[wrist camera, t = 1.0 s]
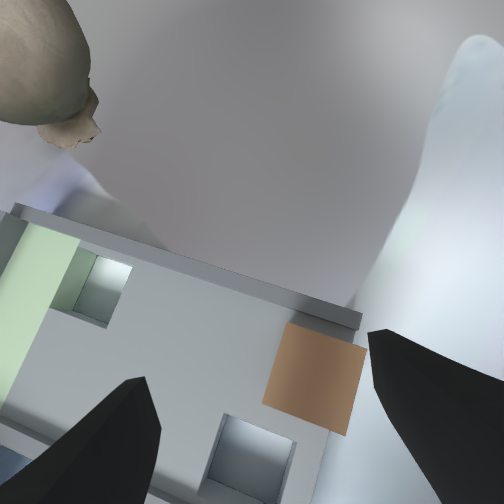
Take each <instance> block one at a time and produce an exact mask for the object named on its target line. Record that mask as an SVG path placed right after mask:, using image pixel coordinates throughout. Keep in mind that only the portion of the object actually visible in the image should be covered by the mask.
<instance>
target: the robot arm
mask: <svg viewBox="0 0 504 504" xmlns="http://www.w3.org/2000/svg"><path fill="white" fill-rule="evenodd" d="M367 334H368V342H369V350H370V358H371V367H372V375H373V383H374V389H375V391H376V393H377V395H378V397H379V399H380V402H381V404H382V406H383V408H384V410H385V412H386V414H387V416H388V418H389V420H390V421H391V423H392V424H393V426H394V428H395V429H396V431H397V432H398V434H399V436H400V437H401V439H402V440H403V442H404V444H405V445H406V447H407V448H408V450H409V451H410V453H411V455H412V456H413V458H414V459H415V461H416V462H417V464H418V466H419V467H420V469H421V470H422V472H423V473H424V475H425V477H426V478H427V480H428V481H429V483H430V484H431V486H432V488H433V489H434V491H435V492H436V494H437V496H438V497H439V499H440V501H441V503H442V504H504V381H502V380H499V379H496V378H494V377H491V376H489V375H486V374H484V373H481V372H479V371H476V370H474V369H471V368H469V367H467V366H464V365H462V364H460V363H457V362H455V361H453V360H451V359H448V358H446V357H444V356H442V355H440V354H438V353H436V352H433V351H431V350H429V349H427V348H425V347H423V346H421V345H419V344H417V343H415V342H413V341H411V340H409V339H407V338H405V337H403V336H401V335H399V334H397V333H395V332H393V331H390V330H388V329H383V330H378V331H373V332H368V333H367ZM161 431H162V427H161V424H160V421H159V418H158V415H157V412H156V409H155V406H154V403H153V400H152V397H151V394H150V391H149V387H148V384H147V381H146V378H145V376H142V377H137V378H132V379H127V380H125V381H124V382H123V383H121V384H120V385H119V386H118V387H116V388H115V389H114V390H113V391H112V392H111V393H110V394H108V395H107V396H106V397H105V398H104V399H103V400H102V401H101V402H100V403H99V404H98V405H96V406H95V407H94V408H93V409H92V410H91V411H90V412H89V413H88V414H87V415H85V416H84V417H83V418H82V419H81V420H80V421H79V422H78V423H77V424H76V425H74V426H73V427H72V428H71V429H70V430H69V431H68V432H66V433H65V434H64V435H63V436H62V437H61V438H59V439H58V440H57V441H56V442H55V443H54V444H52V445H51V446H50V447H49V448H48V449H47V450H45V451H44V452H43V453H42V454H41V455H40V456H38V457H37V458H36V459H35V460H33V461H32V462H31V463H30V464H28V465H27V466H26V467H25V468H23V469H22V470H21V471H19V472H18V473H17V474H15V475H14V476H13V477H11V478H10V479H9V480H7V481H6V482H5V483H3V484H2V485H1V486H0V504H144V502H145V499H146V496H147V492H148V489H149V486H150V482H151V479H152V475H153V472H154V468H155V465H156V461H157V455H158V450H159V444H160V437H161Z"/></svg>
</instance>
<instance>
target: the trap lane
mask: <svg viewBox="0 0 504 504" xmlns="http://www.w3.org/2000/svg"><path fill="white" fill-rule="evenodd" d="M97 255H99V256H102V257H105V258H108V259H111V260H114V261H117V262H120V263H123V264H126V265H129V266H132V267H133V268H132V270H131V272H130V275H129V277H128V279H127V282H126V284H125V287H124V289H123V291H122V294H121V296H120V298H119V301H118V303H117V305H116V308H115V310H114V312H113V315H112V317H111V319H110V322H109V324H107V323H104V322H101V321H99V320H96V319H93V318H91V317H88V316H86V315H83V314H80V313H78V312H75V311H72V310H73V308H74V306H75V303H76V301H77V299H78V297H79V295H80V293H81V290H82V288H83V286H84V284H85V282H86V279H87V277H88V275H89V273H90V271H91V268H92V266H93V264H94V262H95V260H96V257H97ZM362 314H363V313H359V312H356V311H353V310H350V309H347V308H344V307H341V306H337V305H334V304H331V303H328V302H325V301H322V300H319V299H316V298H312V297H309V296H306V295H303V294H300V293H297V292H294V291H290V290H287V289H284V288H281V287H278V286H275V285H272V284H269V283H266V282H263V281H259V280H256V279H253V278H250V277H247V276H244V275H241V274H238V273H234V272H231V271H228V270H225V269H222V268H219V267H215V266H213V265H210V264H206V263H203V262H200V261H197V260H194V259H190V258H187V257H185V256H181V255H178V254H175V253H172V252H169V251H166V250H163V249H160V248H156V247H153V246H150V245H147V244H144V243H141V242H138V241H135V240H131V239H128V238H125V237H122V236H119V235H116V234H113V233H110V232H106V231H103V230H100V229H97V228H94V227H91V226H88V225H85V224H81V223H78V222H75V221H72V220H69V219H66V218H63V217H60V216H56V215H53V214H50V213H47V212H44V211H41V210H38V209H35V208H32V207H28V206H25V205H22V204H19V203H16V202H15V204H14V206H13V208H12V210H11V212H10V214H9V213H7V212H4V211H1V210H0V444H1V445H3V446H5V447H7V448H9V449H11V450H13V451H15V452H17V453H19V454H21V455H23V456H25V457H27V458H29V459H31V460H35V459H36V458H37V457H38V456H40V455H41V454H42V453H43V452H44V451H45V450H47V449H48V448H49V447H50V446H51V445H52V444H54V443H55V442H56V441H57V440H58V439H59V438H61V437H62V436H63V435H64V434H65V433H66V432H68V431H69V430H70V429H71V428H72V427H73V426H74V425H76V424H77V423H78V422H79V421H80V420H81V419H82V418H83V417H84V416H85V415H87V414H88V413H89V412H90V411H91V410H92V409H93V408H94V407H95V406H96V405H98V404H99V403H100V402H101V401H102V400H103V399H104V398H105V397H106V396H107V395H108V394H110V393H111V392H112V391H113V390H114V389H115V388H116V387H118V386H119V385H120V384H121V383H123V382H124V381H125V380H127V379H132V378H137V377H142V376H145V378H146V381H147V384H148V387H149V391H150V394H151V397H152V400H153V403H154V406H155V409H156V412H157V415H158V418H159V421H160V424H161V427H162V431H161V437H160V444H159V450H158V455H157V461H156V465H155V468H154V472H153V475H152V479H151V482H150V486H149V489H148V492H147V496H146V499H145V502H144V504H266V503H264V502H261V501H259V500H257V499H255V498H252V497H250V496H248V495H246V494H244V493H241V492H239V491H237V490H235V489H232V488H230V487H228V486H226V485H223V484H221V483H219V482H217V481H214V480H212V479H210V478H208V477H207V475H208V472H209V469H210V466H211V463H212V460H213V457H214V454H215V451H216V448H217V445H218V442H219V439H220V436H221V433H222V430H223V427H224V424H225V421H226V417H227V414H228V415H231V416H233V417H235V418H238V419H240V420H243V421H245V422H248V423H250V424H253V425H255V426H258V427H260V428H263V429H265V430H268V431H270V432H273V433H275V434H277V435H280V436H282V437H285V438H287V439H290V440H292V441H293V444H292V448H291V451H290V455H289V458H288V462H287V466H286V469H285V473H284V476H283V480H282V483H281V487H280V490H279V494H278V497H277V501H276V504H310V503H311V499H312V496H313V492H314V488H315V484H316V480H317V476H318V473H319V469H320V465H321V461H322V457H323V453H324V450H325V446H326V442H327V438H328V434H329V431H330V430H328V429H325V428H323V427H320V426H318V425H315V424H312V423H310V422H307V421H305V420H302V419H300V418H297V417H295V416H292V415H289V414H287V413H284V412H282V411H279V410H277V409H274V408H272V407H269V406H266V405H264V404H261V403H262V400H263V397H264V393H265V390H266V387H267V384H268V380H269V377H270V374H271V371H272V367H273V364H274V361H275V358H276V354H277V351H278V348H279V345H280V342H281V338H282V335H283V332H284V329H285V325H286V322H289V323H292V324H295V325H298V326H301V327H304V328H307V329H310V330H313V331H316V332H319V333H322V334H325V335H328V336H331V337H333V338H336V339H339V340H342V341H345V342H348V343H351V344H352V342H353V339H354V335H355V331H356V330H359V326H360V322H361V318H362Z"/></svg>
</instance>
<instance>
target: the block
mask: <svg viewBox="0 0 504 504" xmlns="http://www.w3.org/2000/svg"><path fill="white" fill-rule="evenodd" d="M366 352H367V349H366V348H363V347H360V346H357V345H354V344H351V343H348V342H345V341H342V340H339V339H336V338H333V337H331V336H328V335H325V334H322V333H319V332H316V331H313V330H310V329H307V328H304V327H301V326H298V325H295V324H292V323H289V322H286V325H285V329H284V332H283V335H282V338H281V342H280V345H279V348H278V351H277V354H276V358H275V361H274V364H273V367H272V371H271V374H270V377H269V380H268V384H267V387H266V390H265V393H264V397H263V400H262V403H261V404H264V405H266V406H269V407H272V408H274V409H277V410H279V411H282V412H284V413H287V414H289V415H292V416H295V417H297V418H300V419H302V420H305V421H307V422H310V423H312V424H315V425H318V426H320V427H323V428H325V429H328V430H330V431H333V432H335V433H338V434H341V435H343V436H345V435H346V431H347V427H348V423H349V419H350V415H351V412H352V408H353V404H354V400H355V396H356V392H357V388H358V384H359V380H360V376H361V372H362V368H363V364H364V360H365V356H366Z"/></svg>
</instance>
